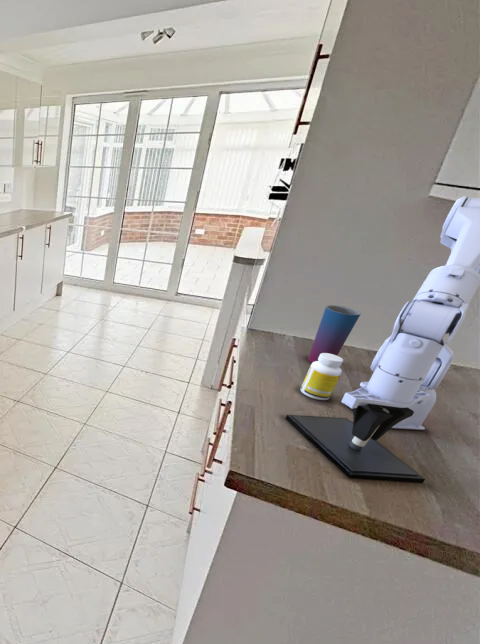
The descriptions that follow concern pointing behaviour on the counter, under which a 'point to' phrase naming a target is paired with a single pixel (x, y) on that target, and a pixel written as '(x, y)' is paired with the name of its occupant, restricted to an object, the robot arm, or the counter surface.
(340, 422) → the tablet
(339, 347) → the cup
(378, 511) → the counter surface
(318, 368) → the supplement bottle
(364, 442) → the stylus
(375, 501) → the counter surface
